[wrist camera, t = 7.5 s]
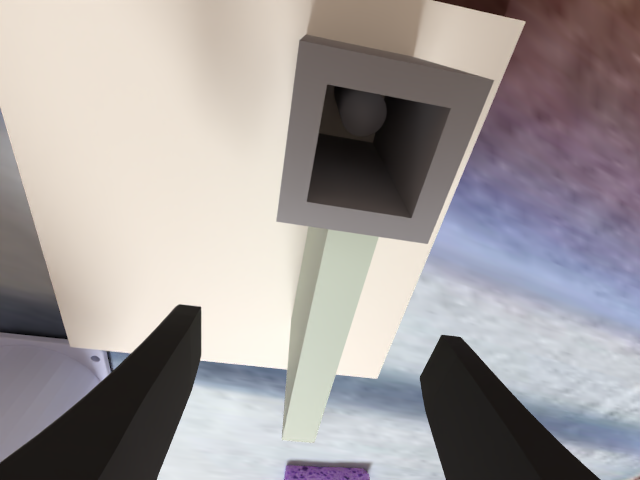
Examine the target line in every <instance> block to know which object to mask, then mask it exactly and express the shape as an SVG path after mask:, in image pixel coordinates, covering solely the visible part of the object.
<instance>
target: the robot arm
mask: <svg viewBox="0 0 640 480" xmlns="http://www.w3.org/2000/svg"><path fill="white" fill-rule="evenodd" d="M200 359H201V307H199V306H191V305H182V304H179V305H177V306H176V307H175V308H174V309H173V310H172V311H171V312H170V313H169V315H168V316H167V317H166V318H165V319H164V320H163V321H162V322H161V323H160V324H159V325H158V327H157V328H156V329H155V330H154V331H153V332H152V333H151V334H150V335H149V336H148V337H147V338H146V339H145V340H144V341H143V342H142V343H141V344H140V345H139V346H138V347H137V348H136V349H135V350H134V351H133V352H132V353H131V354H130V355H129V356H128V357H127V358H126V359H125V360H124V361H123V362H122V363H121V364H120V365H119V366H118V367H117V368H116V369H114V370H113V371H112V372H111V370H110V366H109V361H108V356H107V352H106V351H105V350H95V349H85V348H76V347H70V344H69V341H68V339H58V338H49V337H40V336H30V335H21V334H11V333H2V332H0V480H157V477H158V474H159V472H160V469H161V467H162V464H163V462H164V459H165V457H166V454H167V452H168V449H169V447H170V444H171V441H172V439H173V436H174V434H175V431H176V429H177V426H178V424H179V421H180V419H181V416H182V414H183V411H184V409H185V406H186V404H187V401H188V398H189V396H190V393H191V391H192V387H193V384H194V380H195V377H196V373H197V370H198V366H199V362H200ZM420 382H421V389H422V395H423V400H424V406H425V411H426V415H427V418H428V422H429V425H430V428H431V432H432V435H433V438H434V442H435V445H436V448H437V452H438V455H439V458H440V461H441V465H442V468H443V471H444V475H445V478H446V480H600V479H599V478H598V477H597V476H596V475H595V474H594V473H592V472H591V471H590V470H589V469H588V468H587V467H586V466H585V465H584V464H582V463H581V462H580V461H579V460H578V459H577V458H576V457H575V456H574V455H572V454H571V453H570V452H569V451H568V450H567V449H566V448H565V447H564V446H563V445H562V444H561V443H560V442H559V441H558V440H557V439H556V438H555V437H554V436H553V435H552V434H551V433H550V432H549V431H548V430H547V429H546V428H545V427H544V426H543V425H542V424H541V423H540V422H539V421H538V420H537V419H536V418H535V417H534V416H533V415H532V414H531V413H530V412H529V411H528V410H527V409H526V408H525V407H524V406H523V405H522V404H521V403H520V402H519V400H518V399H517V398H516V397H515V396H514V395H513V394H512V393H511V392H510V391H509V390H508V389H507V387H506V386H505V385H504V384H503V383H502V382H501V381H500V380H499V379H498V378H497V376H496V375H495V374H494V373H493V372H492V371H491V370H490V369H489V368H488V366H487V365H486V364H485V363H484V362H483V361H482V360H481V359H480V358H479V356H478V355H477V354H476V353H475V352H474V351H473V350H472V349H471V348H470V347H469V345H468V344H467V343H466V342H465V341H464V340H463V339H462V338H461V337H456V336H447V335H441V337H440V339H439V341H438V343H437V345H436V347H435V349H434V351H433V353H432V355H431V357H430V358H429V360H428V362H427V364H426V366H425V368H424V370H423V372H422V374H421V376H420Z"/></svg>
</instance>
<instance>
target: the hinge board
mask: <svg viewBox="0 0 640 480" xmlns="http://www.w3.org/2000/svg"><path fill="white" fill-rule="evenodd" d="M524 25H525V21H521V20H517V19H512V18H508V17H503V16H499V15H495V14H490V13H486V12H481V11H477V10H473V9H468V8H464V7H460V6H455V5H451V4H446V3H442V2H438V1H433V0H0V108H1V111H2V115H3V118H4V121H5V125H6V128H7V132H8V135H9V139H10V142H11V145H12V149H13V152H14V156H15V159H16V163H17V166H18V169H19V173H20V176H21V180H22V183H23V187H24V190H25V193H26V197H27V200H28V204H29V207H30V211H31V214H32V217H33V221H34V224H35V228H36V231H37V234H38V238H39V241H40V245H41V248H42V252H43V255H44V258H45V262H46V265H47V269H48V272H49V276H50V279H51V282H52V286H53V289H54V293H55V296H56V300H57V303H58V306H59V310H60V313H61V317H62V320H63V324H64V327H65V330H66V334H67V337H68V341H69V344H70V347H76V348H85V349H95V350H105V351H114V352H124V353H132V352H133V351H134V350H135V349H136V348H137V347H138V346H139V345H140V344H141V343H142V342H143V341H144V340H145V339H146V338H147V337H148V336H149V335H150V334H151V333H152V332H153V331H154V330H155V329H156V328H157V327H158V325H159V324H160V323H161V322H162V321H163V320H164V319H165V318H166V317H167V316H168V315H169V313H170V312H171V311H172V310H173V309H174V308H175V307H176V306H177V305H179V304H182V305H191V306H199V307H201V359H200V360H201V361H211V362H221V363H230V364H240V365H250V366H259V367H269V368H279V369H287V367H288V354H289V341H290V328H291V318H292V313H293V308H294V302H295V297H296V292H297V286H298V281H299V275H300V270H301V265H302V259H303V254H304V248H305V243H306V238H307V232H308V227H309V226H302V225H296V224H289V223H282V222H276V219H277V211H278V204H279V196H280V188H281V180H282V172H283V164H284V157H285V149H286V141H287V133H288V125H289V117H290V110H291V102H292V94H293V86H294V78H295V70H296V63H297V55H298V47H299V40H300V39H301V38H303V37H304V36H305V35H306V34H307V35H311V36H316V37H321V38H326V39H331V40H335V41H340V42H345V43H350V44H355V45H359V46H364V47H369V48H374V49H379V50H384V51H388V52H393V53H398V54H403V55H408V56H412V57H416V58H420V59H423V60H426V61H430V62H433V63H437V64H440V65H444V66H447V67H450V68H454V69H457V70H461V71H464V72H468V73H471V74H474V75H478V76H481V77H485V78H488V79H492V80H494V82H493V85H492V87H491V90H490V92H489V95H488V97H487V99H486V102H485V104H484V107H483V109H482V112H481V114H480V117H479V119H478V122H477V124H476V127H475V129H474V131H473V134H472V136H471V139H470V141H469V144H468V146H467V149H466V151H465V154H464V156H463V159H462V161H461V163H460V166H459V168H458V171H457V173H456V176H455V178H454V181H453V183H452V186H451V188H450V191H449V193H448V195H447V198H446V200H445V203H444V205H443V208H442V210H441V213H440V215H439V218H438V220H437V223H436V225H435V227H434V230H433V232H432V235H431V237H430V240H429V242H428V244H424V243H417V242H410V241H404V240H397V239H390V238H383V237H379V238H378V241H377V244H376V247H375V251H374V254H373V257H372V260H371V263H370V267H369V270H368V273H367V276H366V279H365V283H364V286H363V289H362V292H361V295H360V298H359V302H358V305H357V308H356V311H355V314H354V318H353V321H352V324H351V327H350V330H349V334H348V337H347V340H346V343H345V346H344V349H343V353H342V356H341V359H340V362H339V365H338V369H337V372H336V374H337V375H346V376H356V377H366V378H375V379H377V378H378V375H379V373H380V371H381V368H382V366H383V363H384V361H385V359H386V356H387V354H388V351H389V349H390V346H391V344H392V342H393V339H394V337H395V334H396V332H397V330H398V327H399V325H400V322H401V320H402V318H403V315H404V313H405V310H406V308H407V306H408V303H409V301H410V298H411V296H412V294H413V291H414V289H415V286H416V284H417V282H418V279H419V277H420V274H421V272H422V270H423V267H424V265H425V262H426V260H427V258H428V255H429V253H430V250H431V248H432V246H433V243H434V241H435V238H436V236H437V234H438V231H439V229H440V226H441V224H442V222H443V219H444V217H445V214H446V212H447V210H448V207H449V205H450V202H451V200H452V198H453V195H454V193H455V190H456V188H457V186H458V183H459V181H460V178H461V176H462V173H463V171H464V169H465V166H466V164H467V161H468V159H469V157H470V154H471V152H472V149H473V147H474V145H475V142H476V140H477V137H478V135H479V133H480V130H481V128H482V125H483V123H484V121H485V118H486V116H487V113H488V111H489V109H490V106H491V104H492V101H493V99H494V97H495V94H496V92H497V89H498V87H499V85H500V82H501V80H502V77H503V75H504V73H505V70H506V68H507V65H508V63H509V61H510V58H511V56H512V53H513V51H514V49H515V46H516V44H517V41H518V39H519V37H520V34H521V32H522V29H523V27H524ZM384 98H385V95H380V94H375V93H370V92H364V91H359V90H354V89H349V88H344V87H339V86H333V85H328V84H327V88H326V94H325V99H324V105H323V111H322V116H321V122H320V128H319V133H321V134H327V135H332V136H338V137H344V138H349V139H355V140H360V141H366V142H372V143H373V140H374V136H375V132H377V131H378V130H379V129H380V128H381V127H382V125H383V124H384V121H385V119H386V114H387V108H386V104H385V101H384Z"/></svg>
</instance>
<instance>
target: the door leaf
mask: <svg viewBox="0 0 640 480" xmlns="http://www.w3.org/2000/svg"><path fill="white" fill-rule="evenodd" d="M493 82H494V80H492V79H488V78H485V77H481V76H478V75H474V74H471V73H468V72H464V71H461V70H457V69H454V68H450V67H447V66H444V65H440V64H437V63H433V62H430V61H426V60H423V59H420V58H416V57H412V56H408V55H403V54H398V53H393V52H388V51H384V50H379V49H374V48H369V47H364V46H359V45H355V44H350V43H345V42H340V41H335V40H331V39H326V38H321V37H316V36H311V35H307V34H306V35H305V36H304V37H303V38H301V39H300V40H299V47H298V55H297V63H296V70H295V78H294V86H293V94H292V102H291V110H290V117H289V125H288V133H287V141H286V149H285V157H284V164H283V172H282V180H281V188H280V196H279V204H278V211H277V219H276V222H282V223H289V224H296V225H302V226H309V227H308V232H307V238H306V243H305V248H304V254H303V259H302V265H301V270H300V275H299V281H298V286H297V292H296V297H295V302H294V308H293V313H292V318H291V328H290V341H289V354H288V367H287V379H286V392H285V405H284V418H283V430H282V440H285V441H297V442H309V443H314V442H315V439H316V435H317V432H318V429H319V426H320V423H321V420H322V416H323V413H324V410H325V407H326V404H327V400H328V397H329V394H330V391H331V388H332V385H333V381H334V378H335V375H336V372H337V369H338V365H339V362H340V359H341V356H342V353H343V349H344V346H345V343H346V340H347V337H348V334H349V330H350V327H351V324H352V321H353V318H354V314H355V311H356V308H357V305H358V302H359V298H360V295H361V292H362V289H363V286H364V283H365V279H366V276H367V273H368V270H369V267H370V263H371V260H372V257H373V254H374V251H375V247H376V244H377V241H378V238H379V237H383V238H390V239H397V240H404V241H410V242H417V243H424V244H428V242H429V240H430V237H431V235H432V232H433V230H434V227H435V225H436V223H437V220H438V218H439V215H440V213H441V210H442V208H443V205H444V203H445V200H446V198H447V195H448V193H449V191H450V188H451V186H452V183H453V181H454V178H455V176H456V173H457V171H458V168H459V166H460V163H461V161H462V159H463V156H464V154H465V151H466V149H467V146H468V144H469V141H470V139H471V136H472V134H473V131H474V129H475V127H476V124H477V122H478V119H479V117H480V114H481V112H482V109H483V107H484V104H485V102H486V99H487V97H488V95H489V92H490V90H491V87H492V85H493ZM327 84H328V85H333V86H339V87H344V88H349V89H354V90H359V91H364V92H370V93H375V94H380V95H385V98H384V101H385V104H386V108H387V114H386V119H385V121H384V124H383V125H382V127H381V128H380V129H379V130H378V131H377V132H375V136H374V140H373V143H372V142H366V141H360V140H355V139H349V138H344V137H338V136H332V135H327V134H321V133H319V128H320V122H321V116H322V111H323V105H324V99H325V94H326V88H327Z"/></svg>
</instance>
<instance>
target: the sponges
mask: <svg viewBox="0 0 640 480" xmlns="http://www.w3.org/2000/svg"><path fill="white" fill-rule="evenodd" d="M284 480H370V477H369V474H367V471H365V470H364V469H362V468H342V467H313V466H292V465H287V466H286V472H285V479H284Z"/></svg>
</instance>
